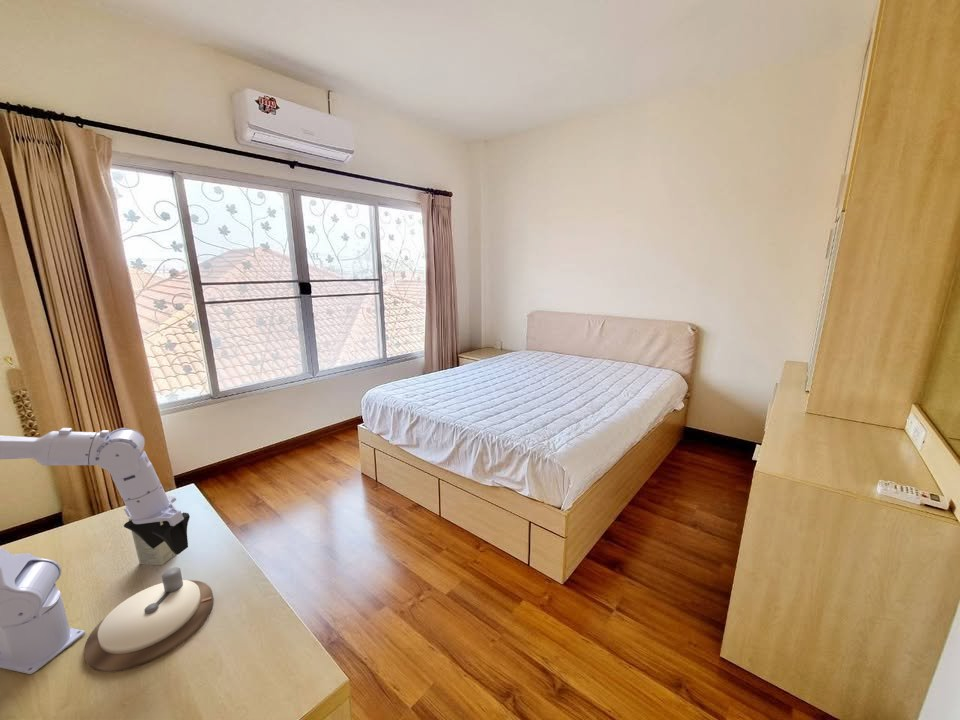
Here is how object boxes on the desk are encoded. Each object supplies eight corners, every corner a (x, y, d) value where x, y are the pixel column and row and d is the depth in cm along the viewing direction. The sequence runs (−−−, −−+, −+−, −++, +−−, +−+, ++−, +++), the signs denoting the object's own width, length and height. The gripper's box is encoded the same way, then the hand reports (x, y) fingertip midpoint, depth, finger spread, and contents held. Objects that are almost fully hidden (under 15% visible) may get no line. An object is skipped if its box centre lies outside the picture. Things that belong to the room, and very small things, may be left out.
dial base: (54, 662, 67) (53, 655, 66) (160, 579, 85) (159, 574, 85) (146, 681, 64) (145, 674, 63) (235, 591, 82) (234, 585, 82)
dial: (160, 653, 67) (155, 629, 66) (74, 654, 67) (68, 629, 66) (217, 586, 81) (214, 565, 80) (147, 586, 81) (142, 565, 80)
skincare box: (178, 553, 93) (170, 508, 91) (162, 566, 89) (153, 519, 86) (154, 551, 94) (145, 506, 91) (137, 564, 90) (127, 517, 87)
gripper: (187, 481, 73) (213, 537, 77) (142, 474, 79) (168, 528, 83) (147, 505, 67) (176, 566, 71) (101, 497, 72) (131, 553, 76)
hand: (169, 547), depth 76 cm, fingers open, 7 cm apart
